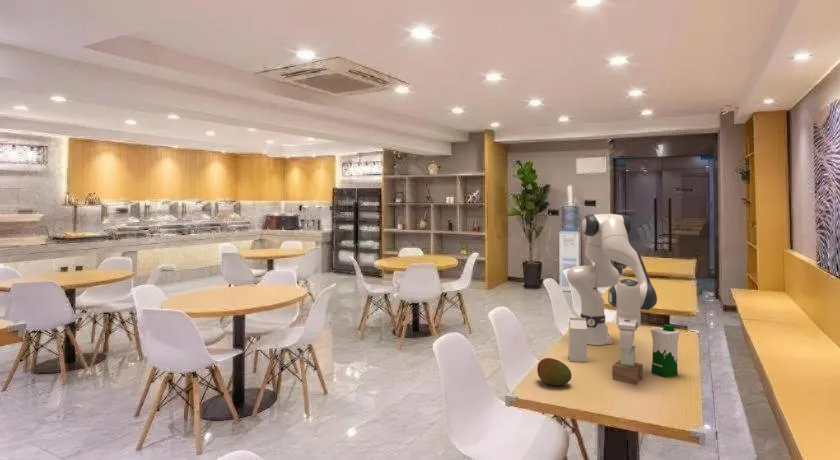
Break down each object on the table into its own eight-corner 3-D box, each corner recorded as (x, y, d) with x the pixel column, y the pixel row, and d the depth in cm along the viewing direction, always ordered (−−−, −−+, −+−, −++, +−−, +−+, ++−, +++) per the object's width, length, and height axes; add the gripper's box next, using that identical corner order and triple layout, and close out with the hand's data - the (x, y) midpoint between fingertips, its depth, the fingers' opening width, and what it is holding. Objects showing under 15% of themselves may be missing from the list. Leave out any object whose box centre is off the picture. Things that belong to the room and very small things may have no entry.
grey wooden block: (621, 361, 197) (621, 344, 197) (635, 363, 195) (635, 346, 195) (620, 365, 193) (620, 347, 192) (634, 367, 190) (634, 349, 190)
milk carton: (586, 362, 215) (587, 319, 214) (570, 361, 216) (570, 319, 216) (584, 357, 222) (585, 316, 221) (568, 356, 223) (568, 315, 222)
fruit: (534, 378, 194) (534, 354, 194) (566, 379, 194) (566, 354, 194) (541, 389, 183) (541, 363, 182) (574, 389, 182) (574, 363, 182)
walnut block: (619, 374, 200) (619, 359, 200) (642, 378, 195) (642, 363, 194) (612, 380, 193) (612, 365, 193) (636, 385, 188) (636, 369, 187)
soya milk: (681, 375, 197) (682, 327, 197) (665, 378, 194) (666, 329, 193) (662, 369, 205) (663, 322, 205) (647, 372, 202) (648, 324, 201)
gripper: (622, 314, 204) (621, 347, 204) (617, 325, 185) (617, 361, 186) (638, 316, 201) (637, 349, 201) (635, 327, 183) (634, 363, 183)
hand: (627, 355), depth 194 cm, fingers open, 8 cm apart
